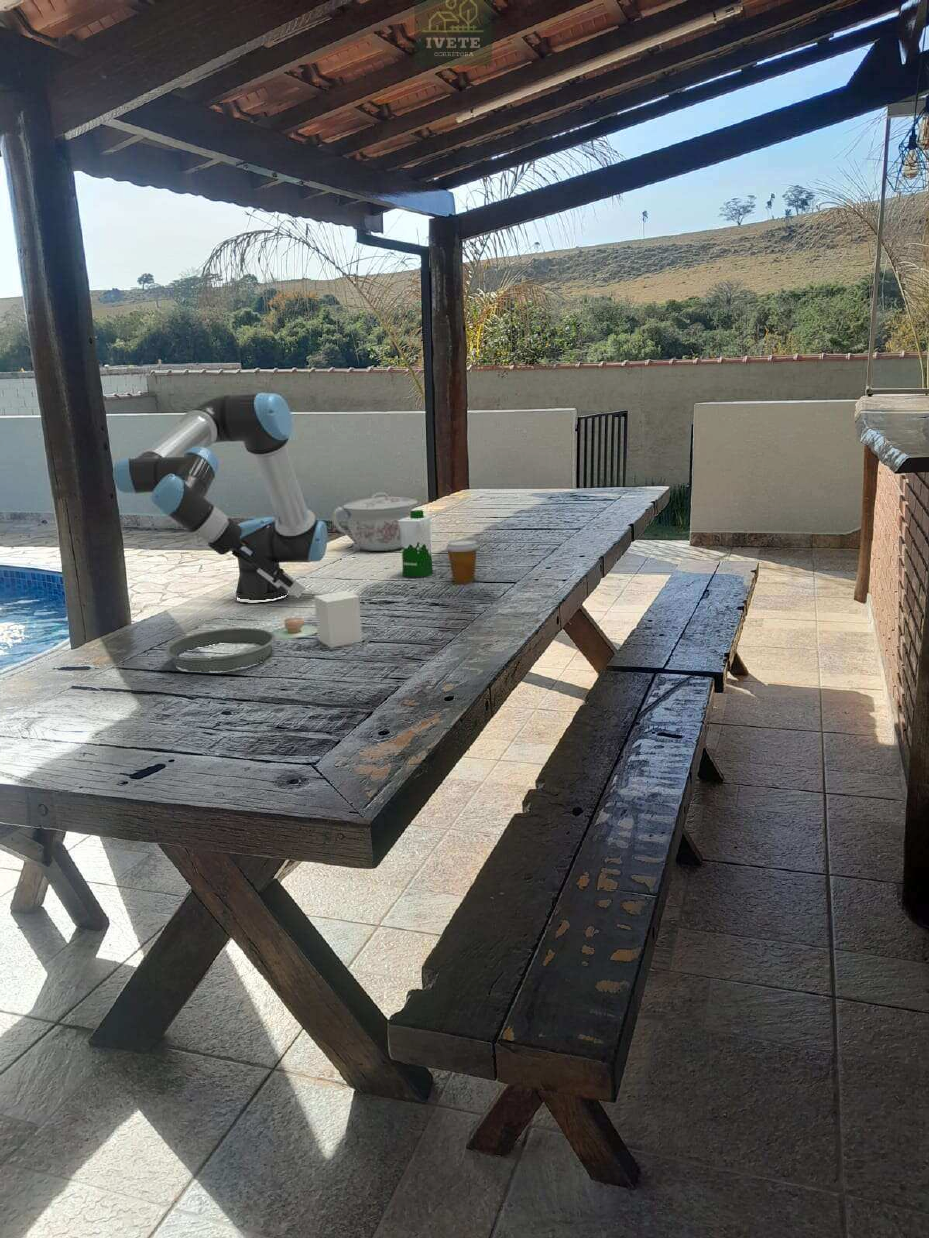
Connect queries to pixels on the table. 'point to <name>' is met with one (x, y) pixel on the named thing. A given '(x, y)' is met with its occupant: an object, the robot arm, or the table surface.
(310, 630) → the plate
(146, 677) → the table surface
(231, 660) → the hoop
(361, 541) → the chamber pot
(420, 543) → the milk carton
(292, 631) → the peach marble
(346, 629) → the white upright block
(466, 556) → the disposable coffee cup
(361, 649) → the mat
